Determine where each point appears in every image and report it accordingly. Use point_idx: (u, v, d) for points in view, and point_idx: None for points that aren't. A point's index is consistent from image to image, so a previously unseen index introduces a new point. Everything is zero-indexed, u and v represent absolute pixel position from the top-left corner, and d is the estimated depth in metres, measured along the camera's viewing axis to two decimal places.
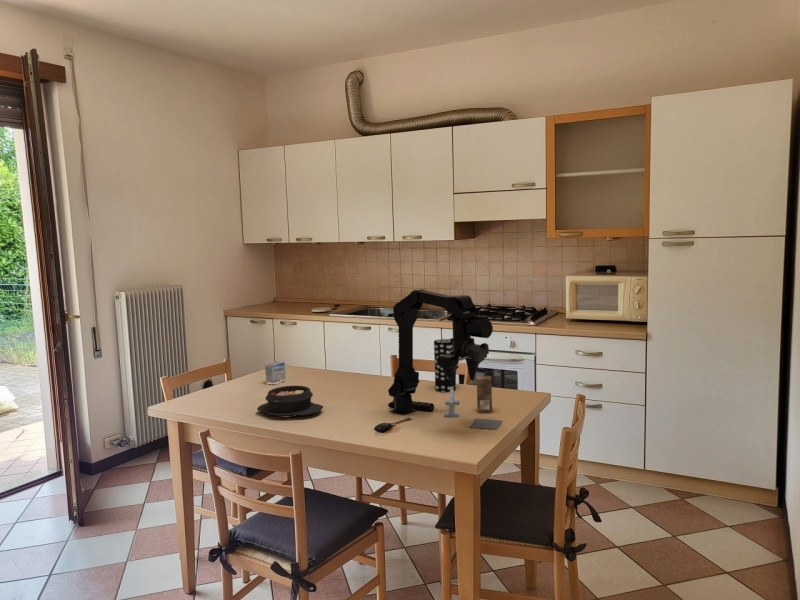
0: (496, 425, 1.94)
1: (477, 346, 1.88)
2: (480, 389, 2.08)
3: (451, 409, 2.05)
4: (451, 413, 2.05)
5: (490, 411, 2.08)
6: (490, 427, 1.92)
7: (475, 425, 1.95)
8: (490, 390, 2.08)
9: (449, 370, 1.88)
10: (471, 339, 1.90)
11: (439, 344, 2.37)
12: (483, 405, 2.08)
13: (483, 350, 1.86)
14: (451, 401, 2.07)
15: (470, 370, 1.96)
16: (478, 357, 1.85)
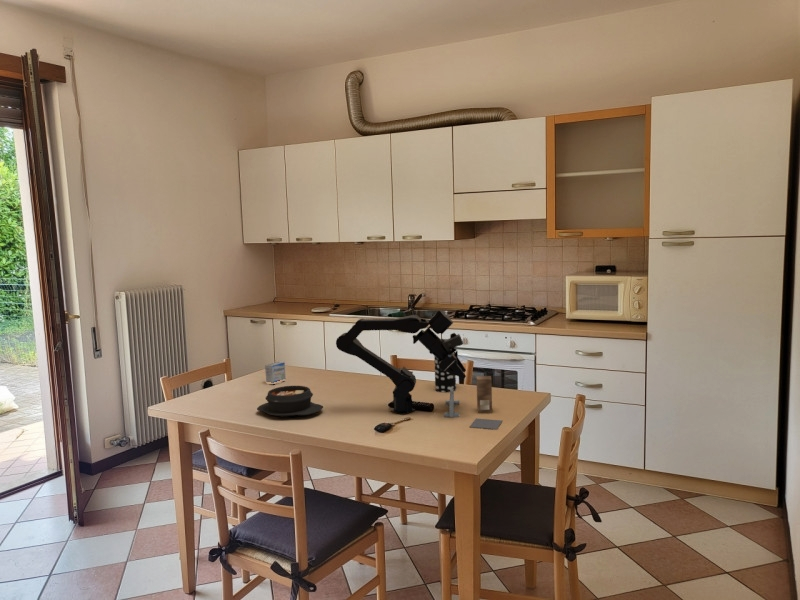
0: (496, 425, 1.94)
1: (450, 338, 2.11)
2: (480, 389, 2.08)
3: (451, 409, 2.05)
4: (451, 413, 2.05)
5: (490, 411, 2.08)
6: (490, 427, 1.92)
7: (475, 425, 1.95)
8: (490, 390, 2.08)
9: (453, 368, 2.05)
10: (441, 339, 2.11)
11: None
12: (483, 405, 2.08)
13: (457, 335, 2.10)
14: (451, 401, 2.07)
15: (457, 366, 2.15)
16: (461, 340, 2.07)
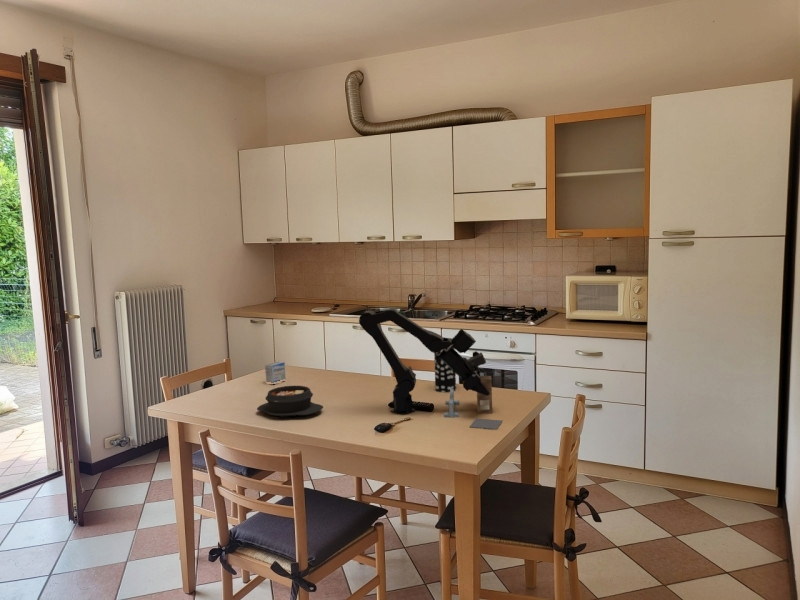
0: (496, 425, 1.94)
1: (473, 357, 2.11)
2: None
3: (451, 409, 2.05)
4: (451, 413, 2.05)
5: (490, 411, 2.08)
6: (490, 427, 1.92)
7: (475, 425, 1.95)
8: (490, 390, 2.08)
9: (476, 386, 2.07)
10: (464, 358, 2.11)
11: None
12: (484, 405, 2.08)
13: (480, 353, 2.10)
14: (451, 401, 2.07)
15: None
16: (484, 359, 2.08)
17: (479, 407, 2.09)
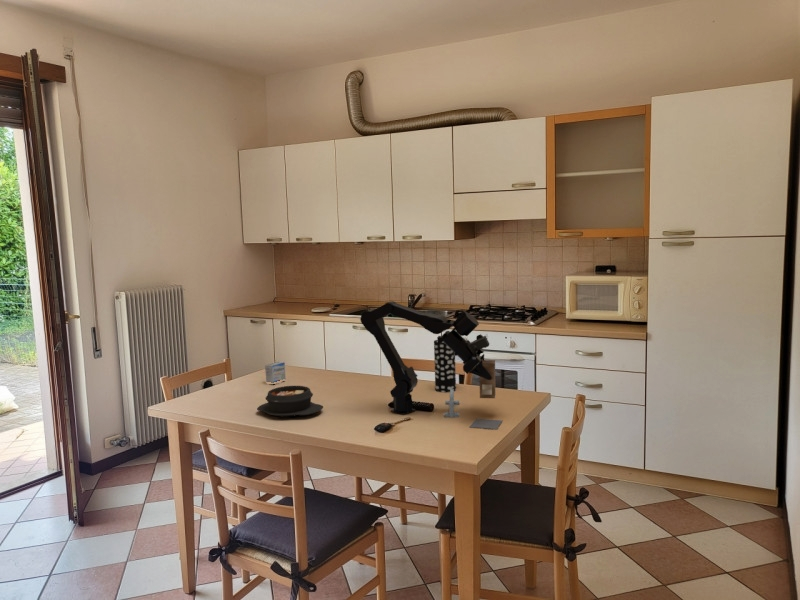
0: (496, 425, 1.94)
1: (476, 340, 2.04)
2: None
3: (451, 409, 2.05)
4: (451, 413, 2.05)
5: (492, 396, 2.01)
6: (490, 427, 1.92)
7: (475, 425, 1.95)
8: (493, 374, 2.01)
9: (478, 370, 2.00)
10: (467, 341, 2.05)
11: None
12: (486, 390, 2.01)
13: (483, 337, 2.03)
14: (451, 401, 2.07)
15: None
16: (487, 342, 2.01)
17: (481, 392, 2.02)
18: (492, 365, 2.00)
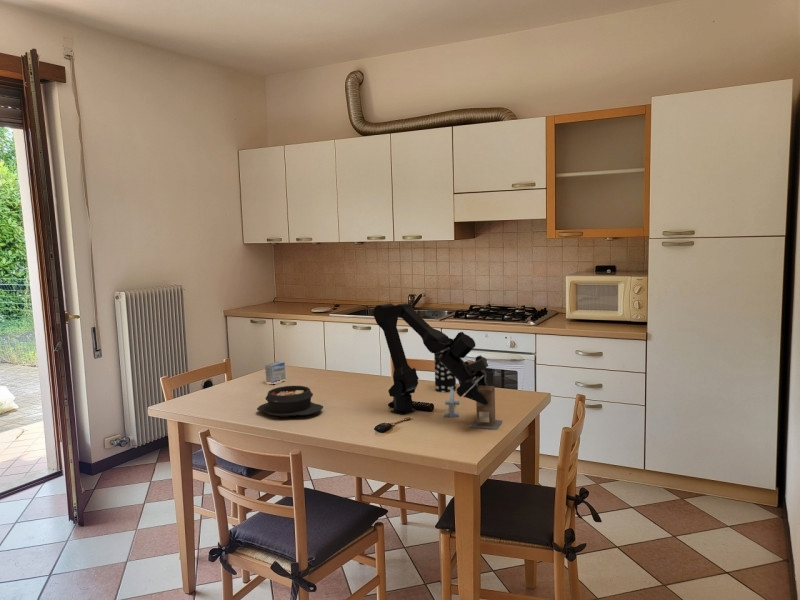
0: (496, 425, 1.94)
1: (475, 361, 1.97)
2: None
3: (451, 409, 2.05)
4: (451, 413, 2.05)
5: (490, 424, 1.93)
6: (490, 427, 1.92)
7: (475, 425, 1.95)
8: (490, 401, 1.92)
9: (473, 394, 1.91)
10: (465, 362, 1.98)
11: None
12: (483, 417, 1.94)
13: (482, 358, 1.95)
14: (451, 401, 2.07)
15: None
16: (484, 364, 1.93)
17: (478, 419, 1.94)
18: (489, 392, 1.92)
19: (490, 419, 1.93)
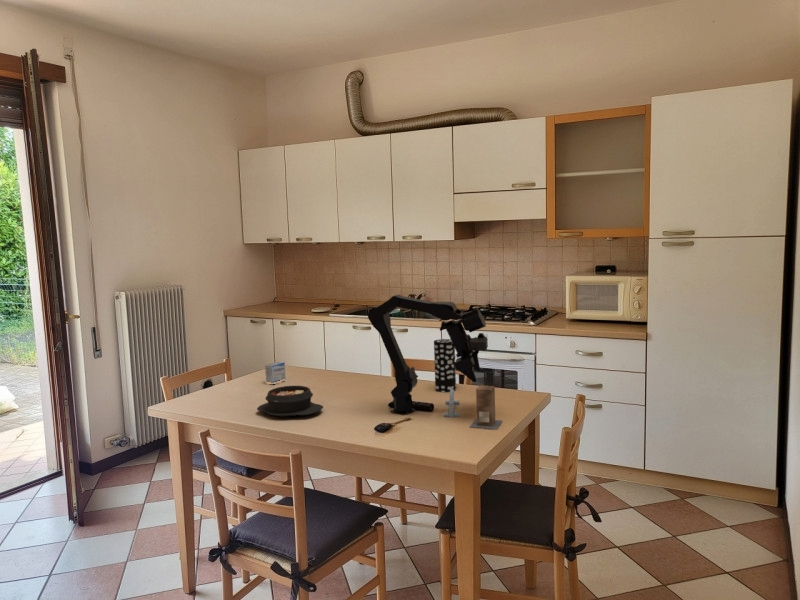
0: (496, 425, 1.94)
1: (477, 338, 2.05)
2: (480, 400, 1.94)
3: (451, 409, 2.05)
4: (451, 413, 2.05)
5: (490, 424, 1.93)
6: (490, 427, 1.92)
7: (475, 425, 1.95)
8: (490, 401, 1.92)
9: (467, 370, 2.02)
10: (468, 335, 2.06)
11: (439, 344, 2.37)
12: (483, 417, 1.94)
13: (485, 338, 2.04)
14: (451, 401, 2.07)
15: (473, 363, 2.12)
16: (486, 346, 2.02)
17: (478, 419, 1.94)
18: (489, 392, 1.92)
19: (490, 419, 1.93)
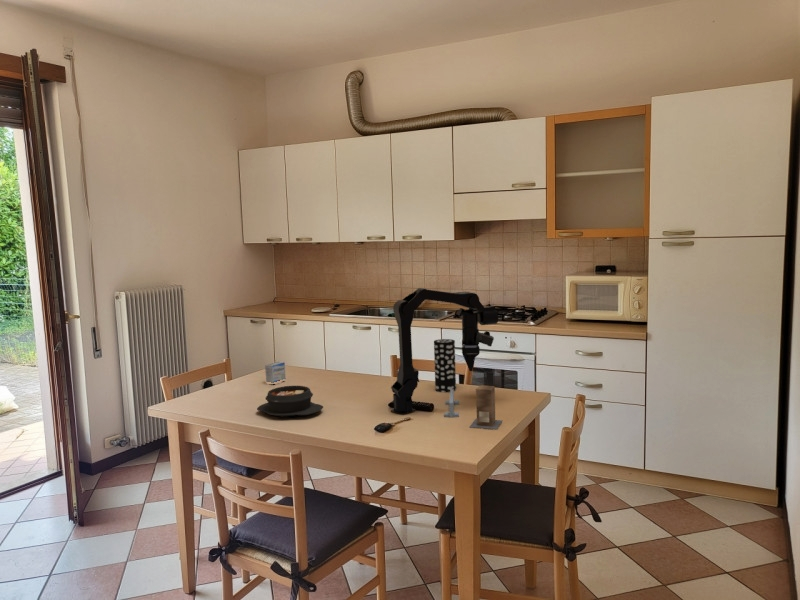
0: (496, 425, 1.94)
1: (484, 334, 2.20)
2: (480, 400, 1.94)
3: (451, 409, 2.05)
4: (451, 413, 2.05)
5: (490, 424, 1.93)
6: (490, 427, 1.92)
7: (475, 425, 1.95)
8: (490, 401, 1.92)
9: (469, 357, 2.15)
10: (477, 329, 2.20)
11: (439, 344, 2.37)
12: (483, 417, 1.94)
13: (491, 336, 2.20)
14: (451, 401, 2.07)
15: None
16: (492, 342, 2.17)
17: (478, 419, 1.94)
18: (489, 392, 1.92)
19: (490, 419, 1.93)
